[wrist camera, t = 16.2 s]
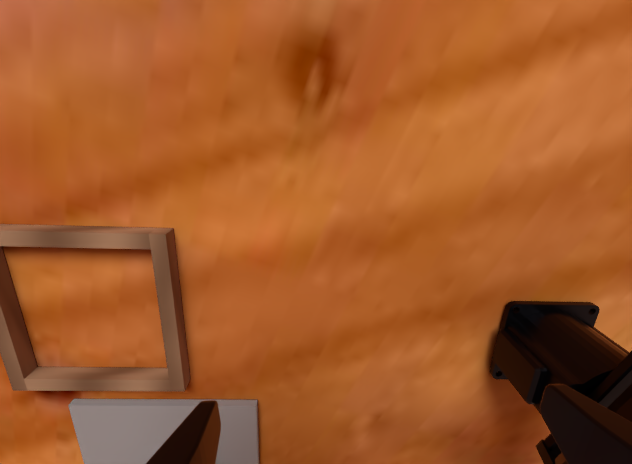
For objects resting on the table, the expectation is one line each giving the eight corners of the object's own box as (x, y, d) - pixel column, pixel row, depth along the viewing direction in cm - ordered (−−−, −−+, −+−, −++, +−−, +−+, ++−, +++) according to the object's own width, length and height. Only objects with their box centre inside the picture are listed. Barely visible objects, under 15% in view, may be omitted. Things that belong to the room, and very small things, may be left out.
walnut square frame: (173, 228, 21) (165, 234, 19) (190, 378, 24) (184, 391, 23) (-22, 223, 20) (-42, 229, 19) (26, 377, 24) (12, 390, 23)
